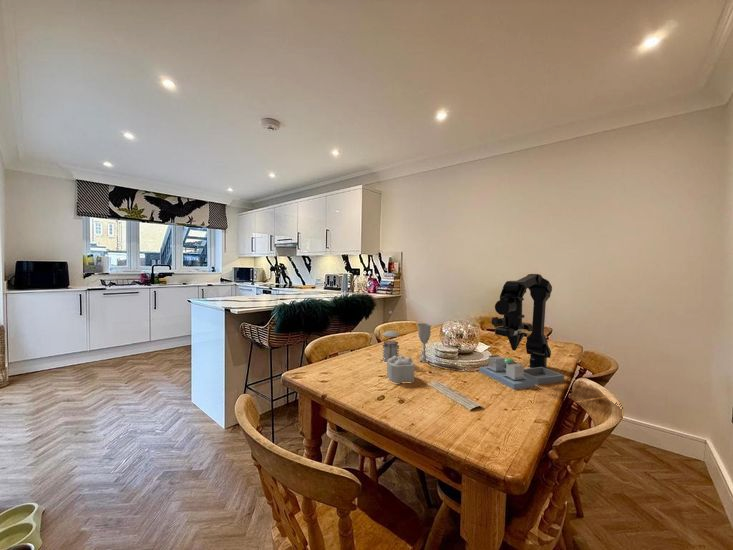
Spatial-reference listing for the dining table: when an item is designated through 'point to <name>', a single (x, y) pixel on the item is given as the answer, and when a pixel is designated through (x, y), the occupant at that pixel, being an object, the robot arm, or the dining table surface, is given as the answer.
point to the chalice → (424, 336)
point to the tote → (543, 375)
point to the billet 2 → (514, 371)
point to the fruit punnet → (400, 369)
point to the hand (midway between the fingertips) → (513, 350)
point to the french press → (390, 345)
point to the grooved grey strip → (454, 395)
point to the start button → (508, 360)
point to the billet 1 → (496, 363)
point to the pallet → (502, 379)
